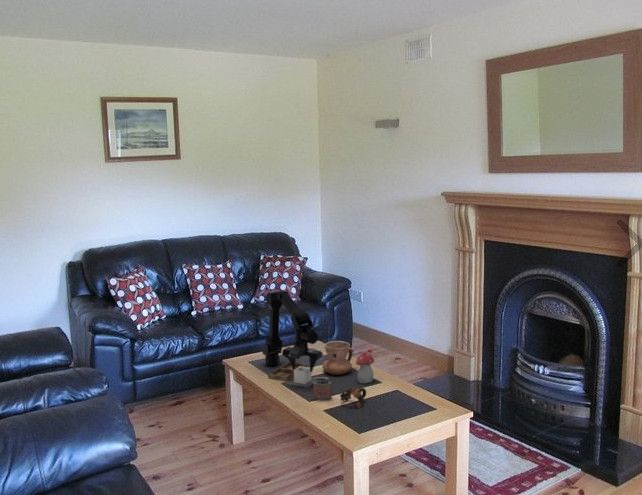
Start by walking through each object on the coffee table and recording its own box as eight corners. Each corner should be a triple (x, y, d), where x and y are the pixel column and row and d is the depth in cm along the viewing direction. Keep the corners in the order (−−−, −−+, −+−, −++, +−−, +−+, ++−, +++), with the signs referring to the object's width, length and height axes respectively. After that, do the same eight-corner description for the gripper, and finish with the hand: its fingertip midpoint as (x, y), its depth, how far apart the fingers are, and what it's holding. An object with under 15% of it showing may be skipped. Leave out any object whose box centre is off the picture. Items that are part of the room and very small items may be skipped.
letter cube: (294, 382, 285) (293, 369, 284) (300, 378, 290) (299, 366, 289) (305, 384, 282) (304, 371, 281) (311, 379, 287) (310, 367, 286)
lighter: (332, 397, 266) (331, 375, 264) (331, 400, 262) (330, 378, 261) (314, 397, 267) (313, 375, 265) (313, 400, 263) (312, 378, 262)
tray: (268, 379, 291) (268, 374, 290) (289, 366, 309) (289, 361, 308) (287, 382, 286) (287, 377, 286) (307, 368, 304) (307, 364, 304)
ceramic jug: (331, 379, 288) (331, 351, 286) (314, 371, 300) (314, 343, 298) (361, 372, 298) (361, 344, 296) (344, 364, 309) (344, 337, 308)
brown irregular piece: (354, 412, 251) (344, 394, 252) (343, 414, 259) (334, 397, 260) (374, 398, 258) (365, 380, 258) (363, 400, 265) (354, 384, 266)
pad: (285, 384, 283) (285, 383, 283) (298, 376, 294) (297, 375, 294) (308, 388, 278) (308, 387, 278) (319, 379, 288) (319, 378, 288)
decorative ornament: (372, 377, 289) (371, 347, 287) (377, 382, 282) (376, 351, 280) (353, 380, 286) (353, 350, 284) (358, 385, 280) (358, 354, 278)
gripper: (275, 341, 280) (276, 373, 282) (311, 345, 272) (312, 379, 274) (287, 335, 290) (288, 366, 292) (322, 339, 281) (323, 371, 284)
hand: (302, 370), depth 285 cm, fingers open, 9 cm apart
